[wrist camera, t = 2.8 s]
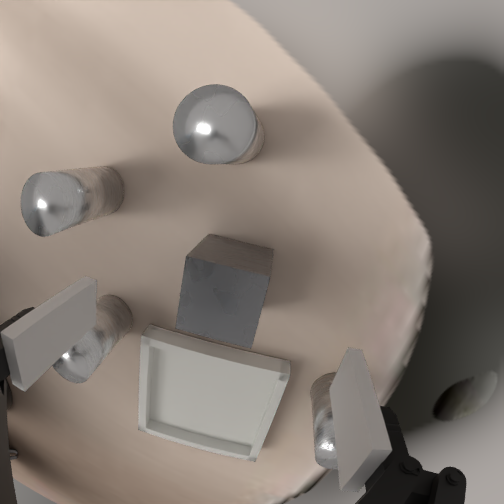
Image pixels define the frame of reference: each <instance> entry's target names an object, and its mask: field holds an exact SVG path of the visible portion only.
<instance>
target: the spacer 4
mask: <svg viewBox="0 0 504 504" xmlns="http://www.w3.org/2000/svg"><path fill="white" fill-rule="evenodd" d="M335 376H336V373H330V374H326V375H324V376H322V377H320V378H318V379H317V380H316V381H315V382H314V383H313V385H312V387H311V402H312V415H313V430H314V445H315V459H316V462H317V463H318V464H319V465H321V466H322V467H325V468H329V469H338V461H337V451H336V441H335V432H334V423H333V415H332V406H331V398H330V391H329V389H330V386H331V384H332V382H333V380H334V378H335Z"/></svg>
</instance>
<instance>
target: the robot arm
mask: <svg viewBox="0 0 504 504" xmlns="http://www.w3.org/2000/svg"><path fill="white" fill-rule="evenodd" d="M96 290H97V280H96V279H93V278H90V277H87V276H84V277H83V278H81V279H80V280H78V281H76V282H75V283H73V284H72V285H70V286H69V287H67V288H65V289H64V290H62V291H61V292H59V293H58V294H56V295H55V296H53V297H51V298H50V299H48V300H47V301H45V302H44V303H42V304H41V305H39V306H38V307H36V308H33V307H32V308H28V309H25V310H23V311H21V312H20V313H18V314H17V315H16V316H14V317H12V318H11V319H9V320H8V321H6V322H5V323H3V324H2V325H0V504H17V500H16V495H15V489H14V484H13V476H12V469H11V461H10V452H9V441H8V427H7V410H8V409H9V408H10V407H11V405H12V395H11V391H10V388H9V385H8V383H7V381H6V379H5V378H6V377H7V376H8V375H9V374H10V376H11V380H12V383H13V385H15V386H16V387H18V388H19V389H21V390H23V391H24V392H25V391H26V390H27V389H28V388H29V387H30V386H31V385H32V384H33V383H34V382H35V381H36V380H37V379H38V378H40V377H41V376H42V375H43V374H44V373H45V372H46V371H47V370H48V369H49V368H50V367H51V366H52V365H53V364H54V363H55V362H56V361H57V360H58V359H59V358H60V357H61V356H63V355H64V354H65V353H66V352H67V351H68V350H69V349H70V348H71V347H72V346H73V345H74V344H75V343H76V342H78V341H79V340H80V339H81V338H82V337H83V336H84V335H85V334H86V333H87V332H88V331H89V330H91V329H92V328H93V327H94V326H95V325H96ZM329 391H330V398H331V406H332V415H333V423H334V432H335V441H336V451H337V461H338V472H339V483H340V491H353V492H358V491H359V490H360V489H361V488H362V487H363V486H364V484H365V487H366V493H365V494H364V495H363V496H362V497H361V498H360V499H359V500H358V501H357V502H356V503H355V504H464V501H465V492H466V478H465V476H464V474H463V473H462V472H461V471H460V470H459V469H456V468H454V467H446V468H444V469H443V470H442V471H441V472H440V473H439V474H437V473H433V472H429V471H426V470H423V469H422V466H421V464H420V462H419V461H418V460H416V459H415V458H413V457H411V456H409V454H408V450H407V447H406V444H405V441H404V438H403V434H402V433H401V428H400V426H399V422H398V419H397V416H396V414H395V413H394V412H393V411H392V410H391V408H390V407H383V406H380V405H379V402H378V399H377V395H376V392H375V389H374V385H373V382H372V379H371V376H370V373H369V370H368V367H367V363H366V360H365V357H364V354H363V351H362V350H360V349H355V348H350V347H348V348H347V351H346V353H345V355H344V358H343V360H342V362H341V364H340V367H339V369H338V371H337V373H336V376H335V378H334V380H333V382H332V384H331V386H330V389H329Z"/></svg>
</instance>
